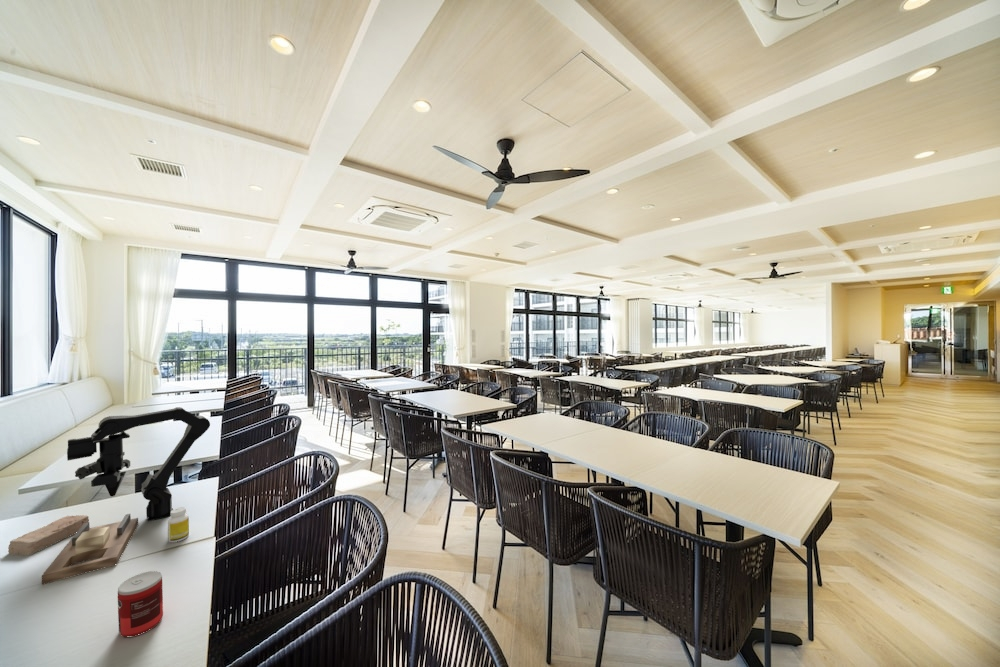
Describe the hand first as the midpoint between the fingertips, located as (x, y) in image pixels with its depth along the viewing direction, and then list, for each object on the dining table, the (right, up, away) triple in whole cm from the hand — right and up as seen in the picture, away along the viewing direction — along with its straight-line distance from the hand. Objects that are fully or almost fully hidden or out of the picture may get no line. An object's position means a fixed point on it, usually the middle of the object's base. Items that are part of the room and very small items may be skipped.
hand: (112, 495), depth 132 cm
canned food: (+51, -13, -42) cm, 68 cm away
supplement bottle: (+28, -12, -6) cm, 31 cm away
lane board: (+7, -12, -12) cm, 19 cm away
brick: (-15, -13, -6) cm, 20 cm away
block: (+8, -10, -14) cm, 19 cm away
